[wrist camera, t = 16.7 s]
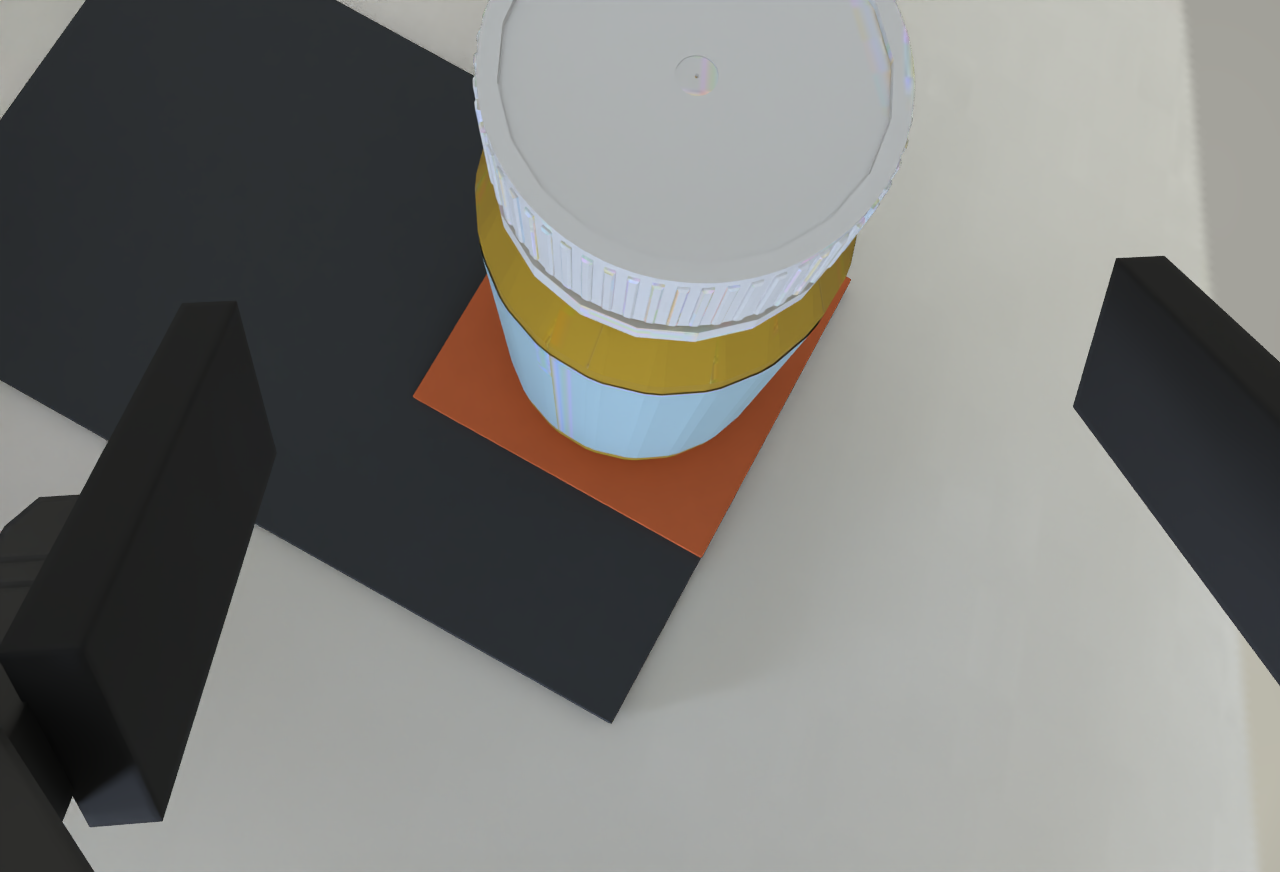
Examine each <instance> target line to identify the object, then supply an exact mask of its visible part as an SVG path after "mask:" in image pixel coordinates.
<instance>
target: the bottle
mask: <svg viewBox="0 0 1280 872" xmlns="http://www.w3.org/2000/svg"><path fill="white" fill-rule="evenodd" d="M477 44H478V46H477V52H476V53H475V54H474V59H473V63H474V68H475V74H476V75H475V76H474V77H473V89H474V94H475V99H476V100H475V102H474V105H475V111H476V115H477V120H478V125H479V130H480V135H481V139H482V144H483V151H482V155H481V158H480V162H479V166H478V169H477V173H476V183H475V197H476V212H477V227H478V234H479V244H480V248H481V253H482V257H483V261H484V264H485V268H486V271H487V275H488V278H489V282H490V286H491V289H492V293H493V296H494V300H495V303H496V307H497V310H498V314H499V318H500V321H501V325H502V328H503V332H504V335H505V339H506V342H507V346H508V350H509V353H510V357H511V360H512V363H513V366H514V368H515V370H516V373H517V375H518V378H519V380H520V382H521V385H522V387H523V390H524V391H525V393H526V395H527V397H528V398H529V400H530V402H531V403H532V404H533V406H534V407H535V408H536V409H537V410H538V411H539V413H540V414H541V415H542V416H543V417H544V418H545V420H546V421H547V422H548V423H549V424H550V425H551V426H552V427H553V428H554V429H555V430H556V431H558V432H559V433H560V434H562V435H564V436H565V437H567V438H569V439H570V440H572V441H574V442H575V443H577V444H578V445H580V446H582V447H583V448H585V449H588V450H590V451H592V452H595V453H599V454H603V455H608V456H612V457H616V458H620V459H625V460H645V459H658V458H667V457H671V456H675V455H678V454H680V453H683V452H685V451H687V450H690V449H692V448H695V447H697V446H699V445H702V444H704V443H705V442H707V441H709V440H710V439H712V438H713V437H715V436H716V435H717V434H718V433H720V432H721V431H722V430H723V429H724V428H725V427H727V426H728V425H729V424H730V423H731V422H732V421H734V420H735V419H736V418H737V417H738V416H739V415H740V414H741V413H742V412H743V410H744V409H745V408H746V407H747V406H748V405H749V404H750V402H751V401H752V400H753V399H754V398H755V397H756V396H757V394H758V393H759V392H760V391H761V390H762V389H763V387H764V386H765V385H766V384H767V383H768V382H769V381H770V379H771V378H772V377H773V376H774V375H775V374H776V373H777V371H778V370H779V369H780V368H781V367H782V366H783V364H784V363H785V362H786V361H787V360H788V359H789V358H790V356H791V355H792V354H793V353H794V352H795V351H796V350H797V348H798V347H799V346H800V345H801V344H802V343H803V341H804V340H805V339H806V338H807V337H808V336H809V335H810V333H811V332H812V331H813V330H814V329H815V327H816V326H817V325H818V323H819V322H820V320H821V318H822V317H823V315H824V313H825V312H826V310H827V308H828V307H829V305H830V303H831V302H832V300H833V298H834V297H835V295H836V293H837V292H838V290H839V288H840V286H841V285H842V283H843V281H844V280H845V278H846V275H847V273H848V270H849V267H850V265H851V261H852V256H853V251H854V246H855V241H856V237H857V234H858V232H859V231H860V230H861V228H862V227H863V226H864V224H865V223H866V222H867V220H868V219H869V218H870V216H871V215H872V214H873V212H874V211H875V210H876V208H877V207H878V206H879V204H880V201H881V199H882V198H883V197H884V195H885V194H886V193H887V191H888V190H889V188H890V186H891V185H892V180H891V179H892V178H893V177H894V175H895V174H896V173H897V171H898V170H899V168H900V165H901V159H900V158H901V155H902V153H903V152H904V150H905V149H906V148H907V144H908V134H909V130H910V127H911V125H912V119H913V118H912V114H913V107H914V95H915V76H914V63H913V56H912V50H911V45H910V40H909V36H908V33H907V29H906V26H905V23H904V20H903V17H902V14H901V12H900V9H899V7H898V5H897V2H896V0H489V1H488V4H487V7H486V9H485V11H484V14H483V20H482V24H481V29H480V31H479V32H478V34H477Z"/></svg>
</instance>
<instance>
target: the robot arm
mask: <svg viewBox="0 0 1280 872" xmlns="http://www.w3.org/2000/svg"><path fill="white" fill-rule="evenodd" d="M1073 407H1074V409H1075V410H1076V412H1077V413H1078V414H1079V416H1080V417H1081V418H1082V420H1083V421H1084V422H1085V424H1086V425H1087V426H1088V428H1089V429H1090V430H1091V432H1092V433H1093V434H1094V436H1095V437H1096V438H1097V440H1098V441H1099V443H1100V444H1101V445H1102V447H1103V448H1104V449H1105V451H1106V452H1107V453H1108V455H1109V456H1110V457H1111V459H1112V460H1113V461H1114V463H1115V464H1116V465H1117V467H1118V468H1119V469H1120V471H1121V472H1122V474H1123V475H1124V476H1125V478H1126V479H1127V480H1128V482H1129V483H1130V484H1131V486H1132V487H1133V488H1134V490H1135V491H1136V492H1137V494H1138V495H1139V496H1140V498H1141V499H1142V500H1143V502H1144V503H1145V505H1146V506H1147V507H1148V509H1149V510H1150V511H1151V513H1152V514H1153V515H1154V517H1155V518H1156V519H1157V521H1158V522H1159V523H1160V525H1161V526H1162V527H1163V529H1164V530H1165V531H1166V533H1167V534H1168V536H1169V537H1170V538H1171V540H1172V541H1173V542H1174V544H1175V545H1176V546H1177V548H1178V549H1179V550H1180V552H1181V553H1182V554H1183V556H1184V557H1185V558H1186V560H1187V561H1188V563H1189V564H1190V565H1191V567H1192V568H1193V569H1194V571H1195V572H1196V573H1197V575H1198V576H1199V577H1200V579H1201V580H1202V581H1203V583H1204V584H1205V585H1206V587H1207V588H1208V589H1209V591H1210V592H1211V594H1212V595H1213V596H1214V598H1215V599H1216V600H1217V602H1218V603H1219V604H1220V606H1221V607H1222V608H1223V610H1224V611H1225V612H1226V614H1227V615H1228V616H1229V618H1230V619H1231V620H1232V622H1233V623H1234V625H1235V626H1236V627H1237V629H1238V630H1239V631H1240V633H1241V634H1242V635H1243V637H1244V638H1245V639H1246V641H1247V642H1248V643H1249V645H1250V646H1251V647H1252V649H1253V650H1254V651H1255V653H1256V654H1257V656H1258V657H1259V658H1260V659H1261V661H1262V662H1263V664H1264V665H1265V666H1266V668H1267V669H1268V670H1269V672H1270V673H1271V674H1272V676H1273V677H1274V678H1275V680H1276V681H1277V682H1278V684H1279V685H1280V362H1279V361H1278V360H1277V359H1276V358H1275V357H1274V356H1272V355H1271V354H1270V353H1269V352H1268V351H1267V350H1266V349H1265V348H1264V347H1263V346H1262V345H1260V344H1259V343H1258V342H1257V341H1256V340H1255V339H1254V338H1253V337H1252V336H1250V334H1249V333H1247V332H1246V331H1245V330H1244V329H1243V328H1242V327H1241V326H1240V325H1239V324H1238V323H1237V322H1236V321H1234V320H1233V319H1232V318H1231V317H1230V316H1229V315H1228V314H1227V313H1226V312H1225V311H1223V309H1221V308H1220V307H1219V306H1218V305H1217V304H1216V303H1215V302H1214V301H1213V300H1212V299H1211V298H1210V297H1208V296H1207V295H1206V294H1205V293H1204V292H1203V291H1202V290H1201V289H1200V288H1199V287H1198V286H1197V285H1195V284H1194V283H1193V282H1192V281H1191V280H1190V279H1189V278H1188V277H1187V276H1186V275H1185V274H1183V273H1182V272H1181V271H1180V270H1179V269H1178V268H1177V267H1176V266H1175V265H1174V264H1173V263H1172V262H1170V261H1169V260H1168V259H1167V258H1166V257H1165V256H1153V257H1132V258H1116V261H1115V264H1114V267H1113V271H1112V274H1111V278H1110V281H1109V285H1108V288H1107V292H1106V295H1105V298H1104V302H1103V305H1102V309H1101V312H1100V316H1099V319H1098V322H1097V326H1096V329H1095V333H1094V336H1093V340H1092V343H1091V346H1090V350H1089V353H1088V357H1087V360H1086V364H1085V367H1084V371H1083V374H1082V377H1081V381H1080V384H1079V388H1078V391H1077V395H1076V398H1075V401H1074V405H1073ZM276 454H277V452H276V448H275V444H274V440H273V437H272V433H271V429H270V425H269V422H268V418H267V414H266V410H265V406H264V403H263V399H262V395H261V391H260V388H259V384H258V380H257V376H256V372H255V369H254V365H253V361H252V357H251V354H250V350H249V346H248V342H247V339H246V335H245V331H244V327H243V323H242V320H241V316H240V312H239V308H238V305H237V301H216V302H195V303H182V304H181V306H180V307H179V309H178V311H177V313H176V315H175V317H174V319H173V321H172V322H171V324H170V326H169V328H168V330H167V332H166V334H165V336H164V338H163V339H162V341H161V343H160V345H159V347H158V349H157V351H156V353H155V354H154V356H153V358H152V360H151V362H150V364H149V366H148V368H147V369H146V371H145V373H144V375H143V377H142V379H141V381H140V383H139V385H138V386H137V388H136V390H135V392H134V394H133V396H132V398H131V400H130V401H129V403H128V405H127V407H126V409H125V411H124V413H123V415H122V416H121V418H120V420H119V422H118V424H117V426H116V428H115V430H114V432H113V433H112V435H111V437H110V439H109V441H108V443H107V445H106V447H105V448H104V450H103V452H102V454H101V456H100V458H99V460H98V462H97V463H96V465H95V467H94V469H93V471H92V473H91V475H90V477H89V479H88V480H87V482H86V484H85V486H84V488H83V490H82V492H81V494H80V495H68V496H52V497H39V498H38V499H36V500H35V501H34V502H33V503H32V504H30V505H29V506H28V507H27V508H26V509H24V510H23V511H22V512H21V513H20V514H19V515H17V516H16V517H15V518H14V519H13V520H11V521H10V522H9V523H8V524H7V525H6V526H4V528H3V530H2V531H1V533H0V872H94V870H93V869H92V867H91V866H90V864H89V863H88V861H87V860H86V858H85V856H84V855H83V853H82V852H81V850H80V849H79V847H78V846H77V844H76V842H75V841H74V839H73V838H72V836H71V835H70V833H69V832H68V830H67V829H66V827H65V825H64V824H63V822H62V821H63V819H64V816H65V814H66V811H67V809H68V806H69V804H70V801H71V799H72V796H73V797H74V799H75V801H76V803H77V805H78V806H79V808H80V810H81V812H82V814H83V816H84V817H85V819H86V821H87V823H88V825H89V827H98V826H111V825H123V824H135V823H147V822H160V821H163V818H164V815H165V812H166V808H167V805H168V802H169V799H170V795H171V792H172V789H173V786H174V783H175V779H176V776H177V773H178V770H179V766H180V763H181V760H182V757H183V754H184V750H185V747H186V744H187V741H188V737H189V734H190V731H191V728H192V725H193V721H194V718H195V715H196V712H197V708H198V705H199V702H200V699H201V696H202V692H203V689H204V686H205V683H206V679H207V676H208V673H209V670H210V667H211V663H212V660H213V657H214V654H215V650H216V647H217V644H218V641H219V638H220V634H221V631H222V628H223V625H224V622H225V618H226V615H227V612H228V609H229V605H230V602H231V599H232V596H233V593H234V589H235V586H236V583H237V580H238V576H239V573H240V570H241V567H242V564H243V560H244V557H245V554H246V551H247V547H248V544H249V541H250V538H251V535H252V531H253V528H254V525H255V522H256V518H257V515H258V512H259V509H260V506H261V502H262V499H263V496H264V493H265V489H266V486H267V483H268V480H269V477H270V473H271V470H272V467H273V464H274V460H275V457H276Z"/></svg>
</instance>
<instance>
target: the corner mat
mask: <svg viewBox="0 0 1280 872" xmlns="http://www.w3.org/2000/svg"><path fill="white" fill-rule="evenodd" d="M473 77H474V76H473V75H471V74H469V73H468V72H466V71H464V70H462V69H460V68H458V67H457V66H455V65H453V64H451V63H449V62H448V61H446V60H444V59H442V58H440V57H438V56H437V55H435V54H433V53H431V52H429V51H427V50H426V49H424V48H422V47H420V46H418V45H417V44H415V43H413V42H411V41H409V40H407V39H406V38H404V37H402V36H400V35H398V34H396V33H395V32H393V31H391V30H389V29H387V28H385V27H384V26H382V25H380V24H378V23H376V22H375V21H373V20H371V19H369V18H367V17H365V16H364V15H362V14H360V13H358V12H356V11H354V10H353V9H351V8H349V7H347V6H345V5H344V4H342V3H340V2H338V1H336V0H86V1H85V2H84V4H83V5H82V7H81V8H80V9H79V11H78V12H77V14H76V15H75V16H74V18H73V19H72V21H71V22H70V23H69V25H68V26H67V27H66V29H65V30H64V32H63V33H62V34H61V36H60V37H59V39H58V40H57V41H56V43H55V44H54V46H53V47H52V48H51V50H50V51H49V53H48V54H47V55H46V57H45V58H44V60H43V61H42V62H41V64H40V65H39V67H38V68H37V69H36V71H35V72H34V74H33V75H32V76H31V78H30V79H29V81H28V82H27V83H26V85H25V86H24V88H23V89H22V90H21V92H20V93H19V95H18V96H17V97H16V99H15V100H14V102H13V103H12V104H11V106H10V107H9V109H8V110H7V111H6V113H5V114H4V116H3V117H2V118H1V120H0V380H1V381H3V382H5V383H7V384H9V385H10V386H12V387H14V388H16V389H17V390H19V391H21V392H23V393H24V394H26V395H28V396H30V397H32V398H33V399H35V400H37V401H39V402H40V403H42V404H44V405H46V406H48V407H49V408H51V409H53V410H55V411H56V412H58V413H60V414H62V415H64V416H65V417H67V418H69V419H71V420H72V421H74V422H76V423H78V424H79V425H81V426H83V427H85V428H87V429H88V430H90V431H92V432H94V433H95V434H97V435H99V436H101V437H103V438H104V439H106V440H108V441H109V439H110V437H111V435H112V433H113V432H114V430H115V428H116V426H117V424H118V422H119V420H120V418H121V416H122V415H123V413H124V411H125V409H126V407H127V405H128V403H129V401H130V400H131V398H132V396H133V394H134V392H135V390H136V388H137V386H138V385H139V383H140V381H141V379H142V377H143V375H144V373H145V371H146V369H147V368H148V366H149V364H150V362H151V360H152V358H153V356H154V354H155V353H156V351H157V349H158V347H159V345H160V343H161V341H162V339H163V338H164V336H165V334H166V332H167V330H168V328H169V326H170V324H171V322H172V321H173V319H174V317H175V315H176V313H177V311H178V309H179V307H180V306H181V304H182V303H195V302H216V301H237V305H238V308H239V312H240V316H241V320H242V323H243V327H244V331H245V335H246V339H247V342H248V346H249V350H250V354H251V357H252V361H253V365H254V369H255V372H256V376H257V380H258V384H259V388H260V391H261V395H262V399H263V403H264V406H265V410H266V414H267V418H268V422H269V425H270V429H271V433H272V437H273V440H274V444H275V448H276V452H277V454H276V457H275V460H274V464H273V467H272V470H271V473H270V477H269V480H268V483H267V486H266V489H265V493H264V496H263V499H262V502H261V506H260V509H259V512H258V515H257V518H256V522H255V524H257V525H259V526H260V527H262V528H264V529H266V530H268V531H269V532H271V533H273V534H275V535H276V536H278V537H280V538H282V539H284V540H285V541H287V542H289V543H291V544H292V545H294V546H296V547H298V548H300V549H301V550H303V551H305V552H307V553H308V554H310V555H312V556H314V557H315V558H317V559H319V560H321V561H323V562H324V563H326V564H328V565H330V566H331V567H333V568H335V569H337V570H339V571H340V572H342V573H344V574H346V575H347V576H349V577H351V578H353V579H355V580H356V581H358V582H360V583H362V584H363V585H365V586H367V587H369V588H370V589H372V590H374V591H376V592H378V593H379V594H381V595H383V596H385V597H386V598H388V599H390V600H392V601H394V602H395V603H397V604H399V605H401V606H402V607H404V608H406V609H408V610H410V611H411V612H413V613H415V614H417V615H418V616H420V617H422V618H424V619H425V620H427V621H429V622H431V623H433V624H434V625H436V626H438V627H440V628H441V629H443V630H445V631H447V632H449V633H450V634H452V635H454V636H456V637H457V638H459V639H461V640H463V641H465V642H466V643H468V644H470V645H472V646H473V647H475V648H477V649H479V650H480V651H482V652H484V653H486V654H488V655H489V656H491V657H493V658H495V659H496V660H498V661H500V662H502V663H504V664H505V665H507V666H509V667H511V668H512V669H514V670H516V671H518V672H520V673H521V674H523V675H525V676H527V677H528V678H530V679H532V680H534V681H535V682H537V683H539V684H541V685H543V686H544V687H546V688H548V689H550V690H551V691H553V692H555V693H557V694H559V695H560V696H562V697H564V698H566V699H567V700H569V701H571V702H573V703H575V704H576V705H578V706H580V707H582V708H583V709H585V710H587V711H589V712H591V713H592V714H594V715H596V716H598V717H599V718H601V719H603V720H605V721H606V722H608V723H612V722H613V720H614V718H615V716H616V714H617V713H618V711H619V709H620V707H621V705H622V703H623V701H624V700H625V698H626V696H627V694H628V692H629V690H630V688H631V687H632V685H633V683H634V681H635V679H636V677H637V675H638V674H639V672H640V670H641V668H642V666H643V664H644V662H645V661H646V659H647V657H648V655H649V653H650V651H651V649H652V648H653V646H654V644H655V642H656V640H657V638H658V636H659V635H660V633H661V631H662V629H663V627H664V625H665V623H666V622H667V620H668V618H669V616H670V614H671V612H672V610H673V609H674V607H675V605H676V603H677V601H678V599H679V597H680V596H681V594H682V592H683V590H684V588H685V586H686V584H687V583H688V581H689V579H690V577H691V575H692V573H693V571H694V570H695V568H696V566H697V564H698V562H699V560H700V558H701V557H702V556H703V554H704V552H705V551H706V549H707V547H708V545H709V543H710V541H711V539H712V538H713V536H714V534H715V532H716V530H717V528H718V526H719V525H720V523H721V521H722V519H723V517H724V515H725V513H726V511H727V510H728V508H729V506H730V504H731V502H732V500H733V498H734V497H735V495H736V493H737V491H738V489H739V487H740V485H741V484H742V482H743V480H744V478H745V476H746V474H747V472H748V471H749V469H750V467H751V465H752V463H753V461H754V459H755V458H756V456H757V454H758V452H759V450H760V448H761V446H762V445H763V443H764V441H765V439H766V437H767V435H768V433H769V432H770V430H771V428H772V426H773V424H774V422H775V420H776V419H777V417H778V415H779V413H780V411H781V409H782V407H783V406H784V404H785V402H786V400H787V398H788V396H789V394H790V393H791V391H792V389H793V387H794V385H795V383H796V381H797V380H798V378H799V376H800V374H801V372H802V370H803V368H804V367H805V365H806V363H807V361H808V359H809V357H810V355H811V353H812V352H813V350H814V348H815V346H816V344H817V342H818V340H819V339H820V337H821V335H822V333H823V331H824V329H825V327H826V326H827V324H828V322H829V320H830V318H831V316H832V314H833V313H834V311H835V309H836V307H837V305H838V303H839V301H840V300H841V298H842V296H843V294H844V292H845V290H846V288H847V287H848V285H849V283H850V281H851V279H850V278H848V277H846V278H845V280H844V281H843V283H842V285H841V286H840V288H839V290H838V292H837V293H836V295H835V297H834V298H833V300H832V302H831V303H830V305H829V307H828V308H827V310H826V312H825V313H824V315H823V317H822V318H821V320H820V322H819V323H818V325H817V326H816V327H815V329H814V330H813V331H812V332H811V333H810V335H809V336H808V337H807V338H806V339H805V340H804V341H803V343H802V344H801V345H800V346H799V347H798V348H797V350H796V351H795V352H794V353H793V354H792V355H791V356H790V358H789V359H788V360H787V361H786V362H785V363H784V364H783V366H782V367H781V368H780V369H779V370H778V371H777V373H776V374H775V375H774V376H773V377H772V378H771V379H770V381H769V382H768V383H767V384H766V385H765V386H764V387H763V389H762V390H761V391H760V392H759V393H758V394H757V396H756V397H755V398H754V399H753V400H752V401H751V402H750V404H749V405H748V406H747V407H746V408H745V409H744V410H743V412H742V413H741V414H740V415H739V416H738V417H737V418H736V419H735V420H734V421H732V422H731V423H730V424H729V425H728V426H727V427H725V428H724V429H723V430H722V431H721V432H720V433H718V434H717V435H716V436H715V437H713V438H712V439H710V440H709V441H707V442H705V443H704V444H702V445H699V446H697V447H695V448H692V449H690V450H687V451H685V452H683V453H680V454H678V455H675V456H671V457H667V458H658V459H645V460H625V459H620V458H616V457H612V456H608V455H603V454H599V453H595V452H592V451H590V450H588V449H585V448H583V447H582V446H580V445H578V444H577V443H575V442H574V441H572V440H570V439H569V438H567V437H565V436H564V435H562V434H560V433H559V432H558V431H556V430H555V429H554V428H553V427H552V426H551V425H550V424H549V423H548V422H547V421H546V420H545V418H544V417H543V416H542V415H541V414H540V413H539V411H538V410H537V409H536V408H535V407H534V406H533V404H532V403H531V402H530V400H529V398H528V397H527V395H526V393H525V391H524V390H523V387H522V385H521V382H520V380H519V378H518V375H517V373H516V370H515V368H514V366H513V363H512V360H511V357H510V353H509V350H508V346H507V342H506V339H505V335H504V332H503V328H502V325H501V321H500V318H499V314H498V310H497V307H496V303H495V300H494V296H493V293H492V289H491V286H490V282H489V278H488V275H487V271H486V268H485V264H484V261H483V257H482V253H481V248H480V244H479V234H478V227H477V212H476V197H475V183H476V173H477V169H478V166H479V162H480V158H481V155H482V151H483V144H482V139H481V135H480V130H479V125H478V120H477V115H476V111H475V105H474V102H475V100H476V99H475V94H474V89H473Z"/></svg>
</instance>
